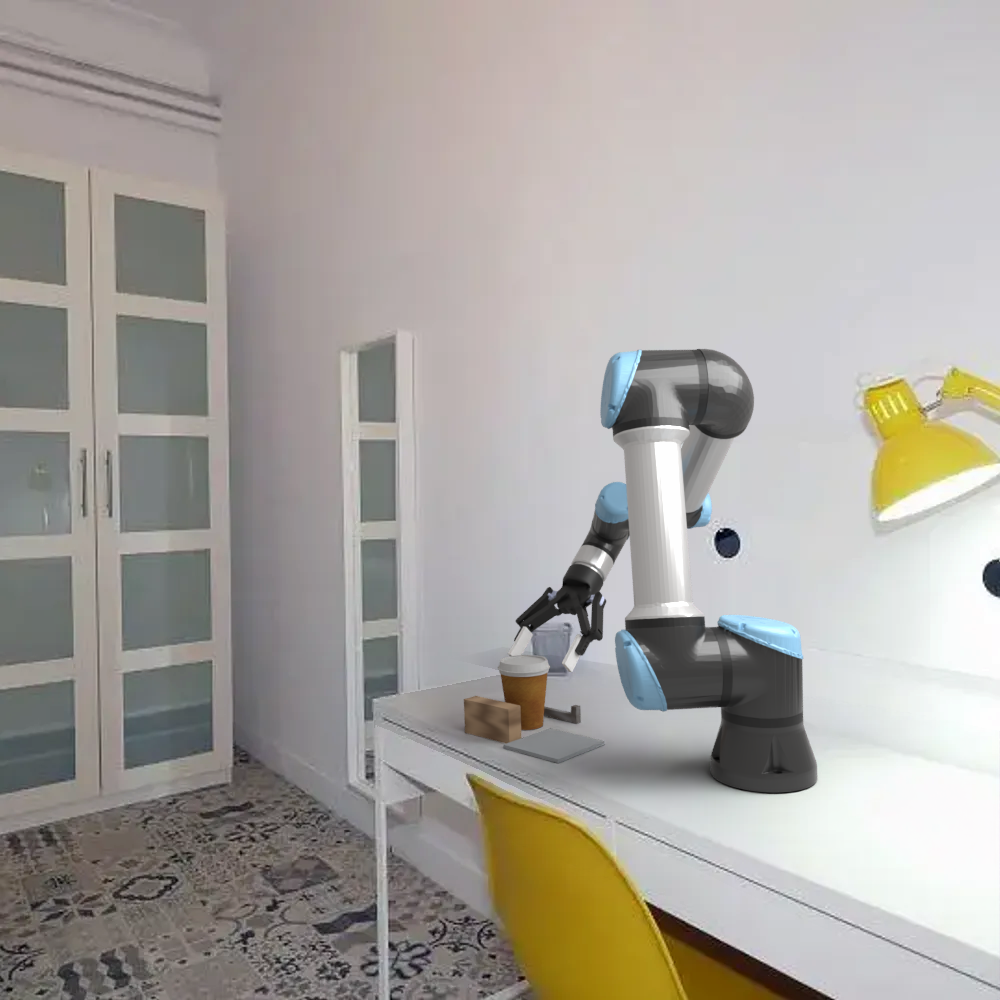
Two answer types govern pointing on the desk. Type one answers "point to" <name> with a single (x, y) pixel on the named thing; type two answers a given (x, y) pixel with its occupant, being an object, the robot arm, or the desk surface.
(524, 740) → the grey mat
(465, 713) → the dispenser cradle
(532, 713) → the disposable coffee cup
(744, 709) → the robot arm
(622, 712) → the desk surface
